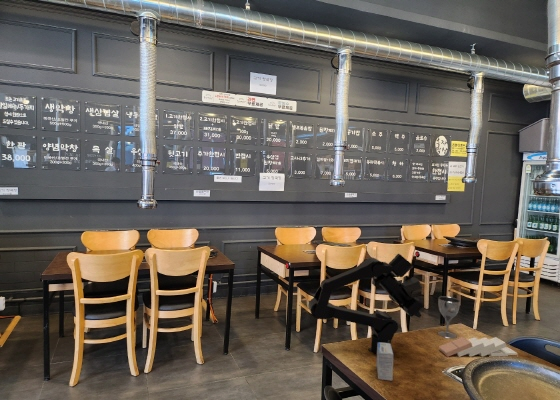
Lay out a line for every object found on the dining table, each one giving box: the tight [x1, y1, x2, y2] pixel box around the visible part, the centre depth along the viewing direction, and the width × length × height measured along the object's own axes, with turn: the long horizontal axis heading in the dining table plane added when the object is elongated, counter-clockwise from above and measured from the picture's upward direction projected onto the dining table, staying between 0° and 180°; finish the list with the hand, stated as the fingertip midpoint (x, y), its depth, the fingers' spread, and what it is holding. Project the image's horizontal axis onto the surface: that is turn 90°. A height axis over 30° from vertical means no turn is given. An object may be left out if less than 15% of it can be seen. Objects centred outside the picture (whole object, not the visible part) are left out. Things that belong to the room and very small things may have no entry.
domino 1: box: [438, 336, 473, 358], centre depth 130 cm, size 2×5×10 cm
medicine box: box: [375, 342, 394, 382], centre depth 114 cm, size 8×4×9 cm, turn 168°
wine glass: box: [437, 295, 461, 339], centre depth 147 cm, size 8×8×15 cm
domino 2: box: [455, 337, 484, 358], centre depth 131 cm, size 2×5×10 cm
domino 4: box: [478, 336, 507, 357], centre depth 131 cm, size 2×5×10 cm
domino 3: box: [466, 336, 495, 358], centre depth 131 cm, size 2×5×10 cm
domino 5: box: [487, 346, 518, 357], centre depth 132 cm, size 2×5×10 cm
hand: (420, 316), depth 129 cm, fingers closed
